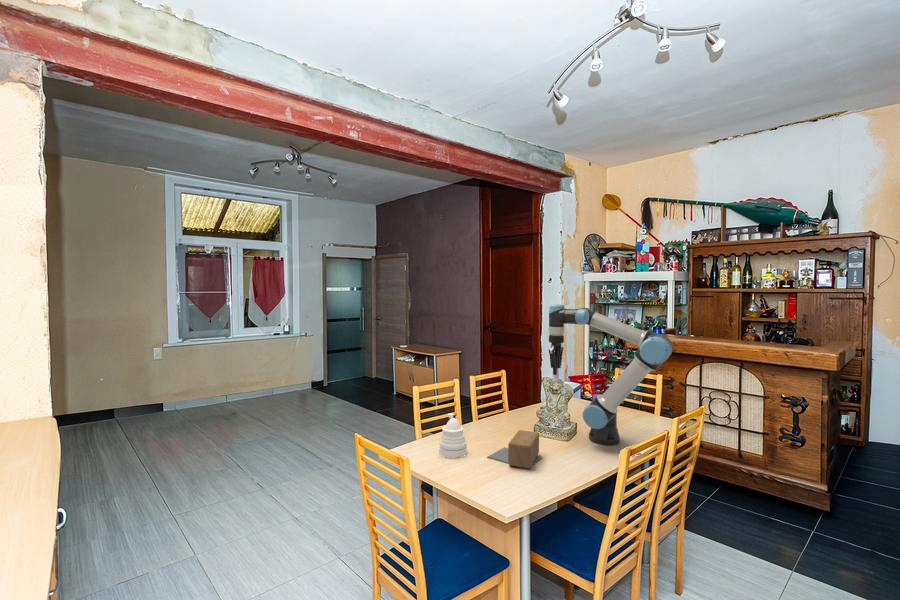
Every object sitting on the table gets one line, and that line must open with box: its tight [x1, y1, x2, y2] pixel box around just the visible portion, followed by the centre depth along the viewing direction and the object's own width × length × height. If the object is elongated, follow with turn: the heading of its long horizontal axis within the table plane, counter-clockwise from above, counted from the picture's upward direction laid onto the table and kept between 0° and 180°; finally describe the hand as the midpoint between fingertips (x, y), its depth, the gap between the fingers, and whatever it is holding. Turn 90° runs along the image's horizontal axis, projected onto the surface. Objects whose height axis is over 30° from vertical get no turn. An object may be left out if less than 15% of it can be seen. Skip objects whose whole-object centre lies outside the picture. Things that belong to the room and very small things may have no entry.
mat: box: [487, 447, 543, 470], centre depth 203 cm, size 20×15×1 cm
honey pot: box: [439, 413, 468, 459], centre depth 209 cm, size 13×13×18 cm
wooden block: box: [507, 429, 540, 469], centre depth 200 cm, size 10×10×20 cm
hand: (555, 380), depth 227 cm, fingers closed
